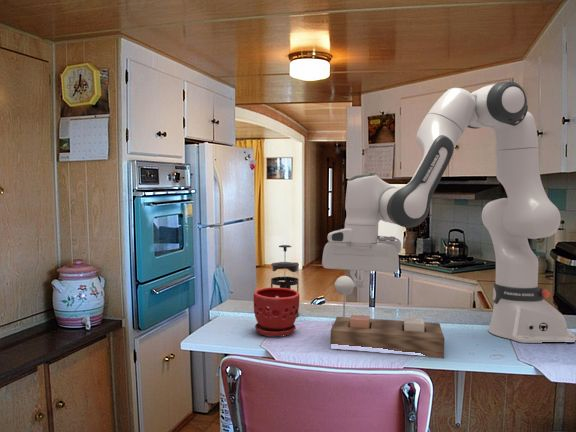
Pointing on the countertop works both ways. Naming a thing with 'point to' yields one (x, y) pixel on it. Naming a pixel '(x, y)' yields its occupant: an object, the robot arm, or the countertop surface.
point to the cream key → (413, 324)
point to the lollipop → (344, 288)
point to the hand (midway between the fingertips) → (359, 286)
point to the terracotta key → (360, 321)
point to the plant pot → (275, 311)
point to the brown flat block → (390, 336)
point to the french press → (287, 280)
